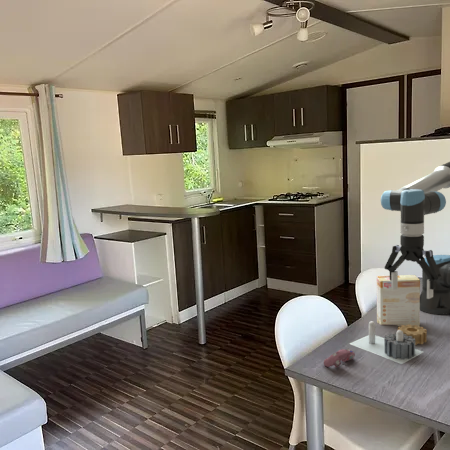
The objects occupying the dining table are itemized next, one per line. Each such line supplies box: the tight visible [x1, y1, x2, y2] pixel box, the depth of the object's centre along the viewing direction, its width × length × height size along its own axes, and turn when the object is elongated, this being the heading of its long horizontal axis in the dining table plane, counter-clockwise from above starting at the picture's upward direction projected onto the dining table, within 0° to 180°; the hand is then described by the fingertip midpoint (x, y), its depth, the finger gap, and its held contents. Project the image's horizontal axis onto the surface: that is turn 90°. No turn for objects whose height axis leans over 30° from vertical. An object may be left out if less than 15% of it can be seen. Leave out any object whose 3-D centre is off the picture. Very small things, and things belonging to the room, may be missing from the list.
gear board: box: [349, 320, 424, 365], centre depth 158 cm, size 13×21×10 cm, turn 36°
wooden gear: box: [397, 324, 428, 346], centre depth 164 cm, size 10×10×5 cm
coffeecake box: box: [376, 274, 421, 327], centre depth 180 cm, size 15×7×20 cm, turn 84°
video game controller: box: [323, 348, 356, 368], centre depth 151 cm, size 10×5×7 cm, turn 118°
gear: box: [383, 332, 416, 360], centre depth 154 cm, size 10×10×5 cm
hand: (411, 293), depth 161 cm, fingers open, 13 cm apart
